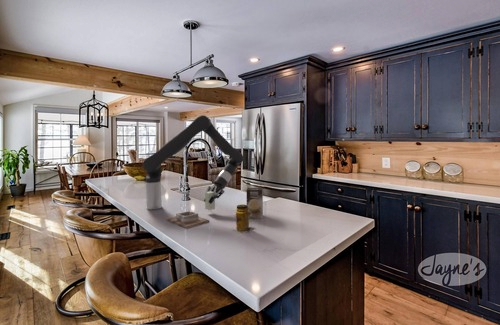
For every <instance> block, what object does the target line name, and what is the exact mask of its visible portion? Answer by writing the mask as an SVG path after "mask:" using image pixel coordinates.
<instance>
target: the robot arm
mask: <svg viewBox="0 0 500 325" xmlns="http://www.w3.org/2000/svg"><path fill="white" fill-rule="evenodd" d="M201 132H204V133H205V134H206V135H207V136H208V137H209V138H210V139H211V140H212V142H214V144H215V145H216V147H217V148H218V149H219V151H220V152H222V153H223V154H224V155H225V156H229V157H230V159H229V160H228V162H227V163H226V165H225V166H224V167H223V169H222V170H221V171H220V172H219V174H218V175H217V177H216V178H215V179H214V181H213V184H212V186H210V185H208V187H207V189H206V191H205V192H214V194H213V195H212V197H211V198H210V200H209V201H208V202H209V203H210V204H211V203H212V202H213V201H214V199H215V200H216V199H220V197H221V196H222V195H223V194H225V190H224V189H226V186H228V183H229V182H230V181H231V178H232V177H233V175H234V174H235V172H236V169H237V168H238V167H239V165H240V164H242V163H243V162H244V156H243V154H242V153H241V151H239V150H238V149H236V148H235V147H234V146H232V144H230V142H229V141H228V140H227V139H226V138H225V137H224V136H223V135H222V134H221V133H220V132H219V131H218V130H217V129H216V127H215V126H214V124H213V123H212V121H211V120H210V118H209V117H208V116H206V115H204V114H200V115H198V116H197V117H196V118H195V119H194V120H193V121H192V122H191V123H189V125H188V126H187V127H185V128H184V129H182V130H181V131H179V132H178V133H176V134H175V135H174V136H173V137H172V138H171V139H169V140H168V141H167V142H165V143H164V144H163V146H161V148H159V150H157V151H156V152H155V153H153V154H151V155H149V156H148V157H146V158H145V159H144V160H143V162H142V168H143V169H144V171H146V176H145V196H146V197H145V198H146V209H147V210H158V209H161V208H162V207H163V204H162V201H163V200H162V199H163V198H162V183H161V182H162V180H161V178H162V164H163V163H164V162H165V161H167V160H168V159H170V158H171V157H173V156H174V155H176V154H178V153H179V152H181V151H182V150H183V149H184V148H186V146H188V144H189V143H190V142H191V140H193V139H194V137H195V136H197V135H198V134H200V133H201ZM203 202H205V198H203Z"/></svg>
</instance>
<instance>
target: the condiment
mask: <svg viewBox="0 0 500 325" xmlns="http://www.w3.org/2000/svg"><path fill="white" fill-rule="evenodd" d="M249 220H250V218H249V212H248V206H247V204H238V205H236V212H235V221H236V222H235V223H236V225H235V226H236V228H234V229H233V231H236V232H238V233H243V234H245V233H247V232H249V231H253V229H255V227H252V226H250V225H249V224H250V223H249V222H250V221H249Z"/></svg>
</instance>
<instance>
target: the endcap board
mask: <svg viewBox="0 0 500 325" xmlns="http://www.w3.org/2000/svg"><path fill="white" fill-rule="evenodd" d="M166 221H168V222H171V223H172V224H175V225H177V226H180V227H182V228H184V229H190V228H192V227H196V226H199V225H204V224H206V223H210V220H209V219H208V218H204V217H202V216H199V213H198V212H195V211H193V210H188V211H182V212H179V213H178V212H177V213H176V214H175V216H170V217H167V218H166Z"/></svg>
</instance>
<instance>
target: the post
mask: <svg viewBox="0 0 500 325" xmlns="http://www.w3.org/2000/svg"><path fill="white" fill-rule="evenodd" d="M213 194H214V192H212V191H211V192H206V191H205V192H204V199H205V201H204V203H205V204H204V205H205V208H204V210H206V211H207V210H208V211H211V210H215V209H216V202H215V201H216V199H214V201H213V202H212V203H211V204H210V203H209V202H208V201H209V200H210V198H211V197H212V195H213Z"/></svg>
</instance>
